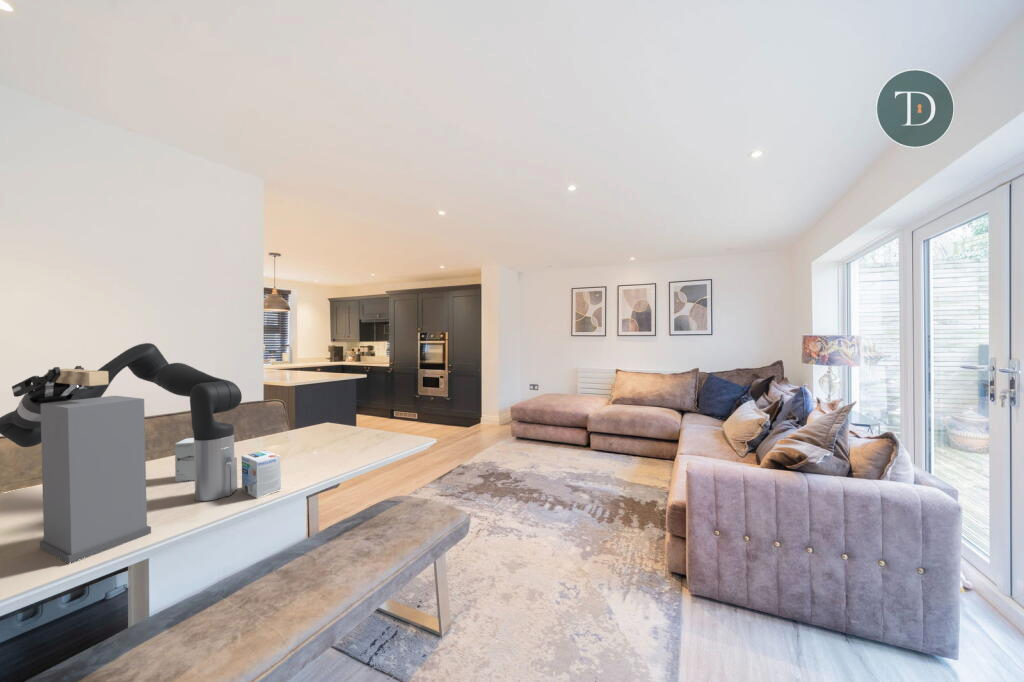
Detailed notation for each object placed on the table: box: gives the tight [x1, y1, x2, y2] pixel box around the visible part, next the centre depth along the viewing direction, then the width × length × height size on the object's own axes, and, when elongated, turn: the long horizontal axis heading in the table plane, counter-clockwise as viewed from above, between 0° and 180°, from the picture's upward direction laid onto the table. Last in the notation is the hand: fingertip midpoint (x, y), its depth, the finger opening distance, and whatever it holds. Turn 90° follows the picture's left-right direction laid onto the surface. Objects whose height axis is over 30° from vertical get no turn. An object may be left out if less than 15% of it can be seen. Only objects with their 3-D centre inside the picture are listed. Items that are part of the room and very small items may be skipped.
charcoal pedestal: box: [39, 395, 152, 564], centre depth 85 cm, size 15×13×32 cm
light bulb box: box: [241, 450, 282, 499], centre depth 112 cm, size 11×7×11 cm, turn 56°
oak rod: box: [47, 368, 109, 386], centre depth 88 cm, size 22×3×3 cm, turn 66°
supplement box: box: [174, 437, 195, 483], centre depth 124 cm, size 7×7×13 cm
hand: (69, 369), depth 90 cm, fingers closed on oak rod, 3 cm apart
